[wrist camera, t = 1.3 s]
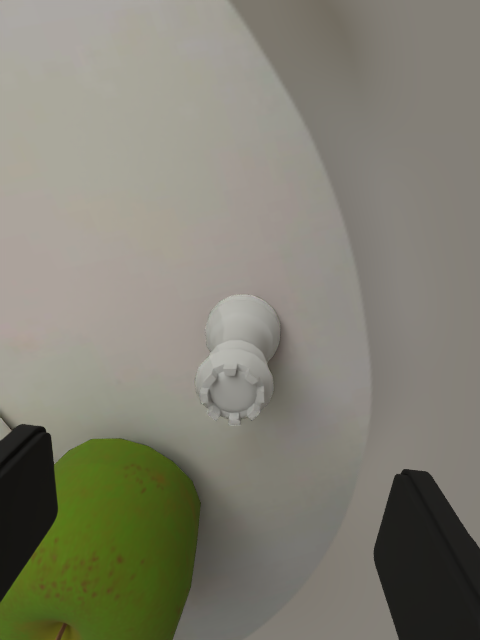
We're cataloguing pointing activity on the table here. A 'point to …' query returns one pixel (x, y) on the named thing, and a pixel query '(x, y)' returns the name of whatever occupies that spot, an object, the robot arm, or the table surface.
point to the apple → (109, 550)
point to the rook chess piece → (238, 358)
